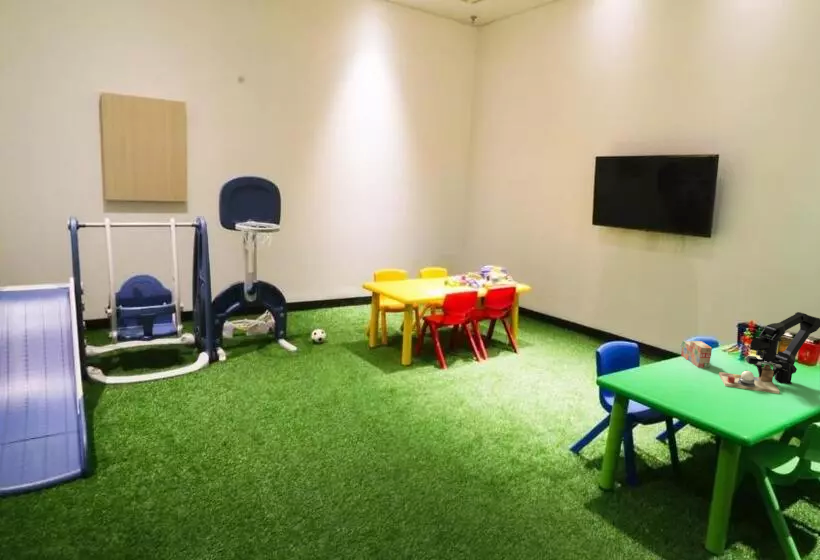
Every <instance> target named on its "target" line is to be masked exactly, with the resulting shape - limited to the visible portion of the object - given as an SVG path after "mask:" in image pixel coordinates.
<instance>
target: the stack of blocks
mask: <svg viewBox="0 0 820 560" xmlns="http://www.w3.org/2000/svg"><path fill="white" fill-rule="evenodd" d="M681 344H682V345H681V353H680V356H681V357H682V358H684V359H686V361H689V363H691V364H692V365H694V366H695V367H697V368H698V369H699V368H701V369H702V368H703V369H710V365H711V363H710V362H711V357H712V351H713V348H712V347H711V346H710V345H708V344H706V343H705V342H704V341H701V340H690V341H689V340H683V341H682V343H681Z"/></svg>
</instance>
